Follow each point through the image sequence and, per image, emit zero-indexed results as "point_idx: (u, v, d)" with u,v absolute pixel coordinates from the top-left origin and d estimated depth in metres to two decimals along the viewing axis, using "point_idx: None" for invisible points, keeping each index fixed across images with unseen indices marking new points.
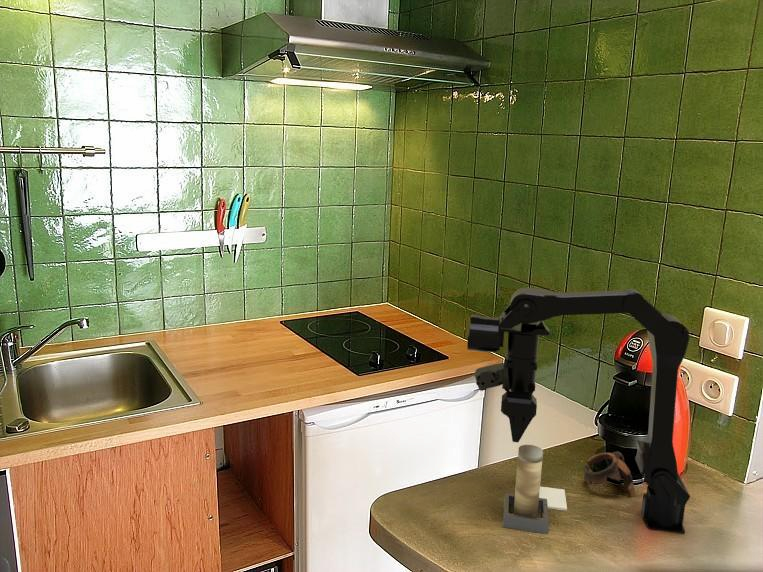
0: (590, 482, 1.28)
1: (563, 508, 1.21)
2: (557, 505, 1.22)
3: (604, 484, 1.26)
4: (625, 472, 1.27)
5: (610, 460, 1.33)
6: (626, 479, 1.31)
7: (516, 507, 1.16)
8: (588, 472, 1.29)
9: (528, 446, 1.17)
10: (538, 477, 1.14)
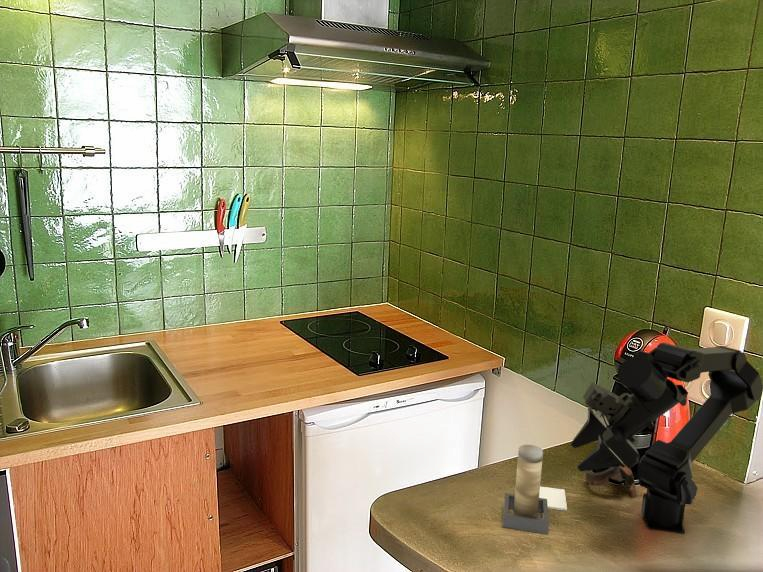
0: (592, 483, 1.28)
1: (563, 508, 1.21)
2: (557, 505, 1.22)
3: (606, 485, 1.26)
4: (627, 473, 1.26)
5: None
6: (628, 480, 1.31)
7: (516, 507, 1.16)
8: (590, 473, 1.28)
9: (528, 446, 1.17)
10: (538, 477, 1.14)
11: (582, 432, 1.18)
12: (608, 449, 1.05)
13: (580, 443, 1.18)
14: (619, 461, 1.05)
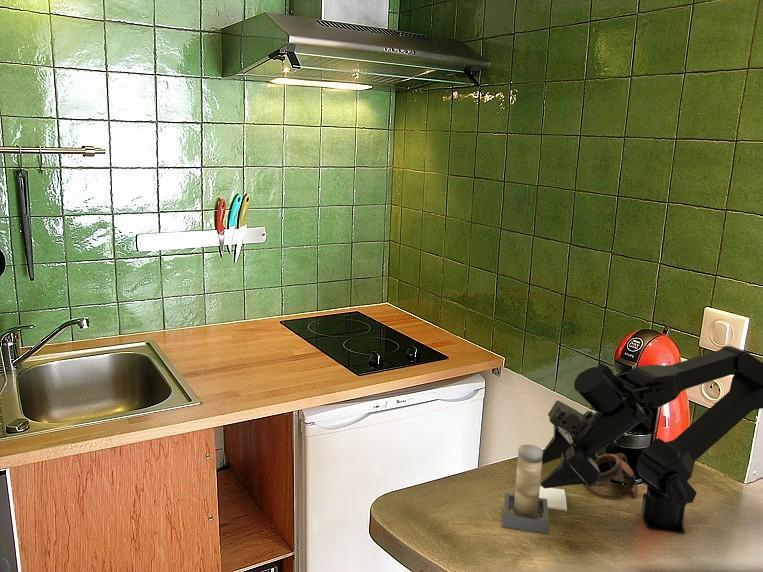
0: None
1: (563, 508, 1.21)
2: (557, 505, 1.22)
3: (608, 486, 1.25)
4: (628, 473, 1.26)
5: (613, 461, 1.32)
6: (629, 480, 1.31)
7: (516, 507, 1.16)
8: None
9: (528, 446, 1.17)
10: (538, 476, 1.14)
11: (548, 449, 1.19)
12: (570, 467, 1.06)
13: (545, 460, 1.20)
14: (581, 479, 1.06)
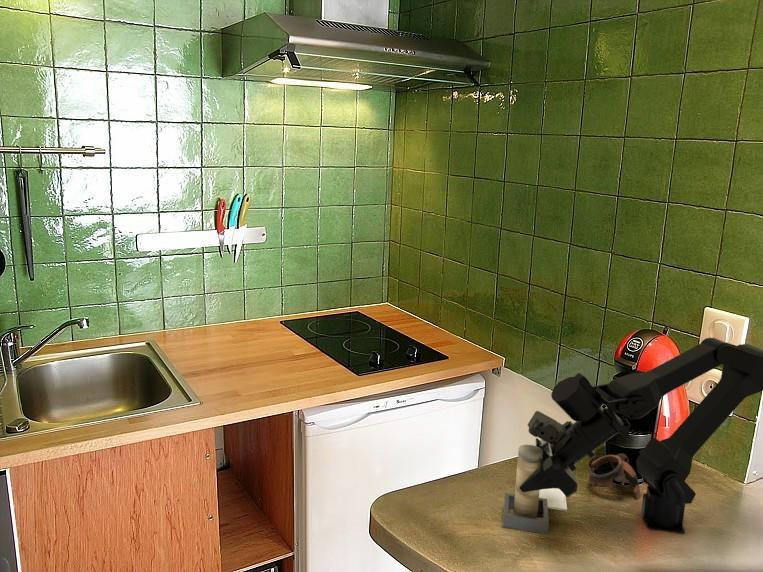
0: (596, 485, 1.27)
1: (563, 508, 1.21)
2: (557, 505, 1.22)
3: (610, 487, 1.25)
4: (631, 474, 1.26)
5: (615, 462, 1.32)
6: (631, 481, 1.30)
7: (516, 507, 1.16)
8: (593, 475, 1.27)
9: (528, 446, 1.17)
10: None
11: None
12: None
13: None
14: None
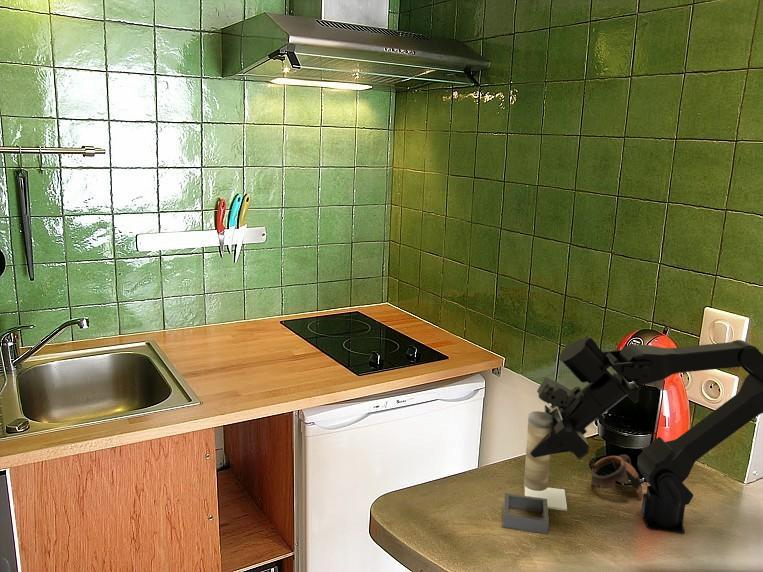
0: (598, 486, 1.27)
1: (563, 508, 1.21)
2: (557, 505, 1.22)
3: (613, 488, 1.24)
4: (633, 475, 1.25)
5: (617, 463, 1.31)
6: (634, 482, 1.30)
7: (527, 473, 1.18)
8: (596, 476, 1.27)
9: (538, 412, 1.18)
10: None
11: None
12: (558, 435, 1.11)
13: None
14: None
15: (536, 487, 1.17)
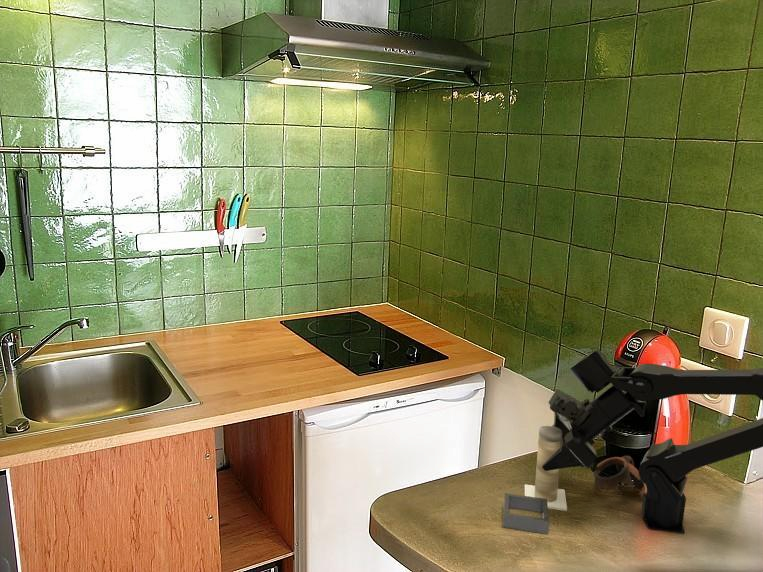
0: (601, 487, 1.26)
1: (563, 508, 1.21)
2: (557, 505, 1.22)
3: (616, 489, 1.24)
4: (637, 477, 1.25)
5: (620, 464, 1.31)
6: (637, 484, 1.29)
7: (538, 484, 1.24)
8: (599, 477, 1.26)
9: (548, 427, 1.25)
10: None
11: None
12: (569, 450, 1.15)
13: None
14: (579, 461, 1.15)
15: (546, 498, 1.23)
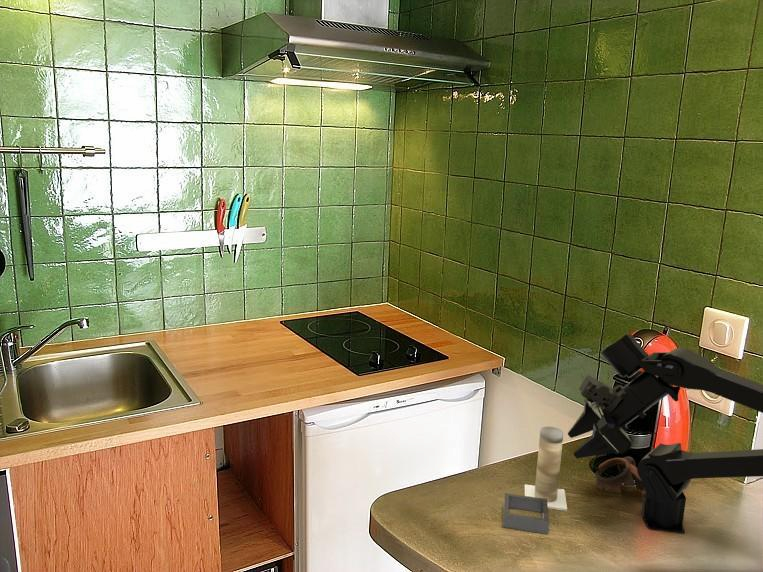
0: (603, 488, 1.26)
1: (563, 508, 1.21)
2: (557, 505, 1.22)
3: (618, 490, 1.24)
4: (638, 477, 1.25)
5: (622, 465, 1.30)
6: (638, 484, 1.29)
7: (538, 485, 1.24)
8: (601, 478, 1.26)
9: (549, 428, 1.24)
10: (559, 456, 1.22)
11: (578, 423, 1.25)
12: (602, 436, 1.12)
13: (576, 433, 1.25)
14: (612, 448, 1.12)
15: (546, 498, 1.23)
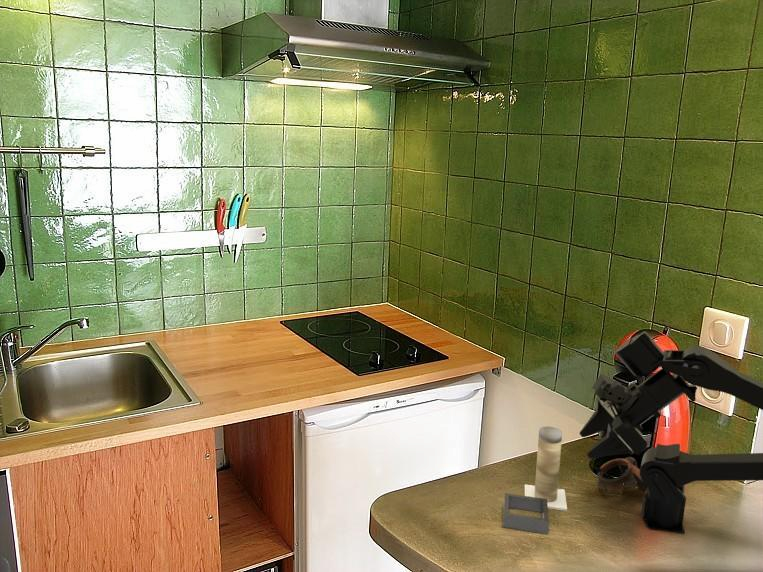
0: (605, 489, 1.26)
1: (563, 508, 1.21)
2: (557, 505, 1.22)
3: (620, 491, 1.23)
4: None
5: (624, 466, 1.30)
6: (640, 485, 1.29)
7: (538, 485, 1.24)
8: (603, 479, 1.26)
9: (548, 428, 1.24)
10: (558, 456, 1.22)
11: (590, 422, 1.22)
12: (617, 437, 1.09)
13: (588, 433, 1.23)
14: (628, 448, 1.09)
15: (546, 498, 1.23)
